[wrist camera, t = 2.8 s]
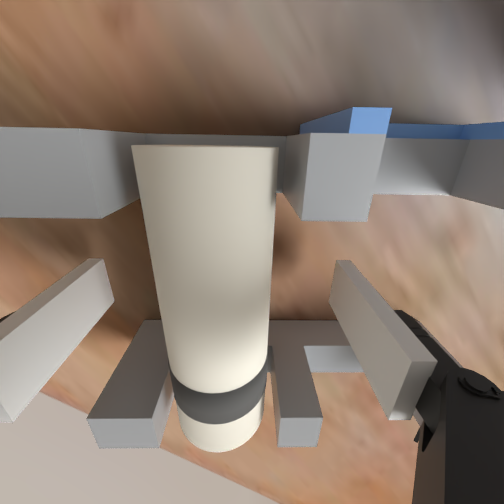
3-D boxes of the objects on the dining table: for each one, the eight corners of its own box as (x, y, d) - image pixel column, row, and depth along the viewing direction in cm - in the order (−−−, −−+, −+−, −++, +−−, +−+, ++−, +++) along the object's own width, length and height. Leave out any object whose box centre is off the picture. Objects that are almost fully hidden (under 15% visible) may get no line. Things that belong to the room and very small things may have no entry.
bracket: (101, 120, 12) (-53, 98, 6) (492, 128, 12) (733, 115, 6) (150, 350, 19) (102, 454, 12) (407, 350, 19) (484, 452, 13)
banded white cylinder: (159, 144, 10) (94, 146, 6) (273, 146, 11) (291, 149, 6) (189, 367, 16) (166, 453, 12) (262, 367, 16) (267, 453, 12)
